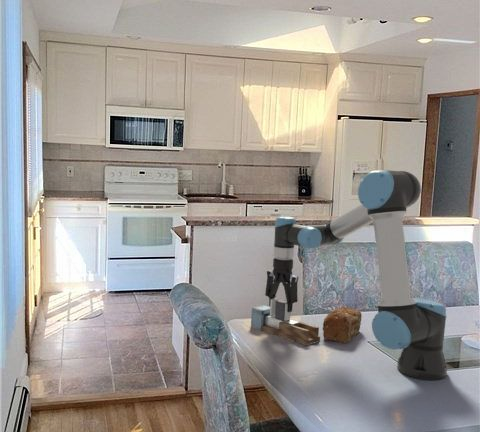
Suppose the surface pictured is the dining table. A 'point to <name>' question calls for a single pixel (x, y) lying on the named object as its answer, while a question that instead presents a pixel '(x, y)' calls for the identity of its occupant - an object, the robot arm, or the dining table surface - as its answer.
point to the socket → (259, 316)
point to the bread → (342, 324)
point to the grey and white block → (278, 316)
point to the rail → (295, 332)
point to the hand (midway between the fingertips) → (279, 317)
